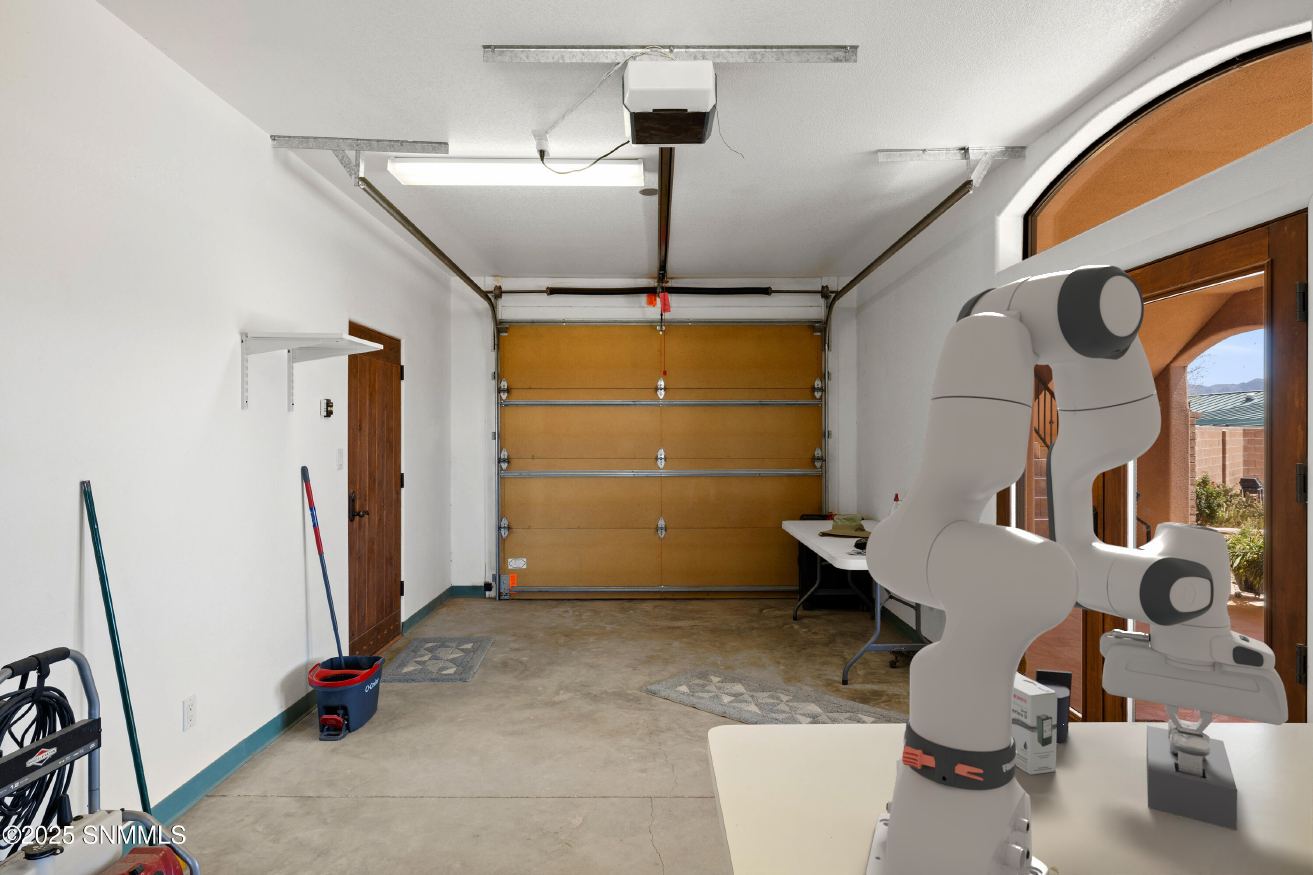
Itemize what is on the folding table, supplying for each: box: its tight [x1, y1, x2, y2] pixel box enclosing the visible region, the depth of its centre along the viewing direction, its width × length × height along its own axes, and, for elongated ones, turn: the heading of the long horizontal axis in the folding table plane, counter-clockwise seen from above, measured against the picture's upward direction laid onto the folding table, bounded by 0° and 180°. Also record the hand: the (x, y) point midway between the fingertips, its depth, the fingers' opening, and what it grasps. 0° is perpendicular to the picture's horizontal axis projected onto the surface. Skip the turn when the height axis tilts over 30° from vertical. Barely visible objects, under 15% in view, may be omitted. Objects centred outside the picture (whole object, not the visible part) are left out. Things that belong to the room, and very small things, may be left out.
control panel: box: [1146, 725, 1238, 831], centre depth 95 cm, size 17×9×5 cm, turn 145°
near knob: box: [1171, 728, 1211, 778], centre depth 90 cm, size 4×4×5 cm
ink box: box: [1012, 672, 1057, 775], centre depth 104 cm, size 9×5×12 cm, turn 14°
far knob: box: [1167, 719, 1204, 756], centre depth 99 cm, size 4×4×5 cm
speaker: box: [1034, 669, 1073, 745], centre depth 112 cm, size 8×6×10 cm
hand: (1188, 738), depth 95 cm, fingers closed, pressing on middle knob
